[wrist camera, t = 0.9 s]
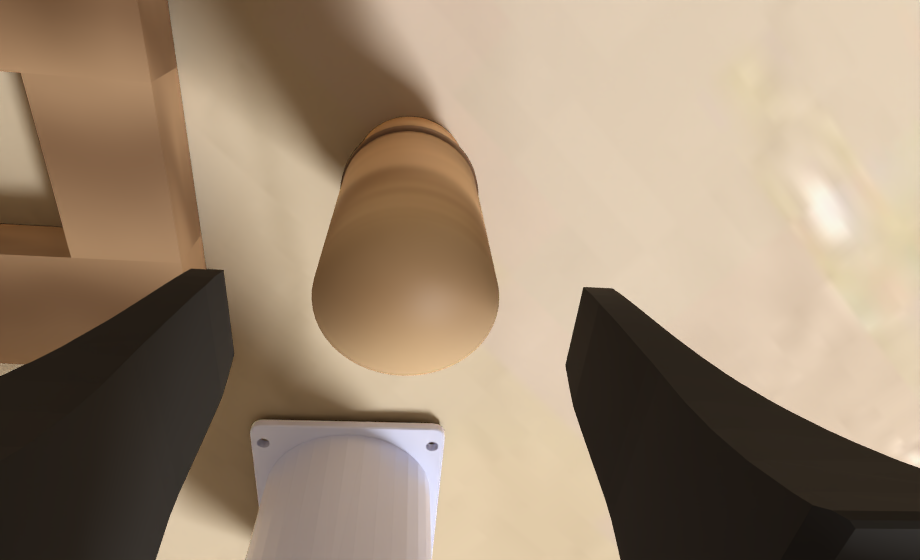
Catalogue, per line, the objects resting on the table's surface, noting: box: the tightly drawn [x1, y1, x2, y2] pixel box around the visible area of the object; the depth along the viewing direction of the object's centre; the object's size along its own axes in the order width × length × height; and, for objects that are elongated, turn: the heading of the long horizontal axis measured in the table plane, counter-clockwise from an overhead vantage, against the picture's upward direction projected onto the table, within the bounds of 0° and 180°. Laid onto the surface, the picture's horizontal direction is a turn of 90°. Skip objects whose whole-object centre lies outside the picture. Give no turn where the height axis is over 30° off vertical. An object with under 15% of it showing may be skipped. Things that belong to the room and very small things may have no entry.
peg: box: [312, 117, 499, 376], centre depth 16 cm, size 4×4×8 cm
